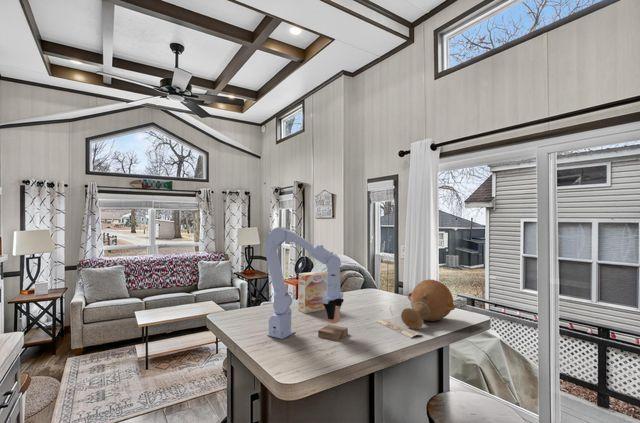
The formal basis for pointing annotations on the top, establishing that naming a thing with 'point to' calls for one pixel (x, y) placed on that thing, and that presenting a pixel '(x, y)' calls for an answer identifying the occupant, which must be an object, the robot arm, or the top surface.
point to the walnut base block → (333, 332)
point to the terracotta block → (335, 315)
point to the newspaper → (398, 328)
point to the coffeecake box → (312, 291)
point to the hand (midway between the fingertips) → (333, 317)
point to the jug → (427, 304)
